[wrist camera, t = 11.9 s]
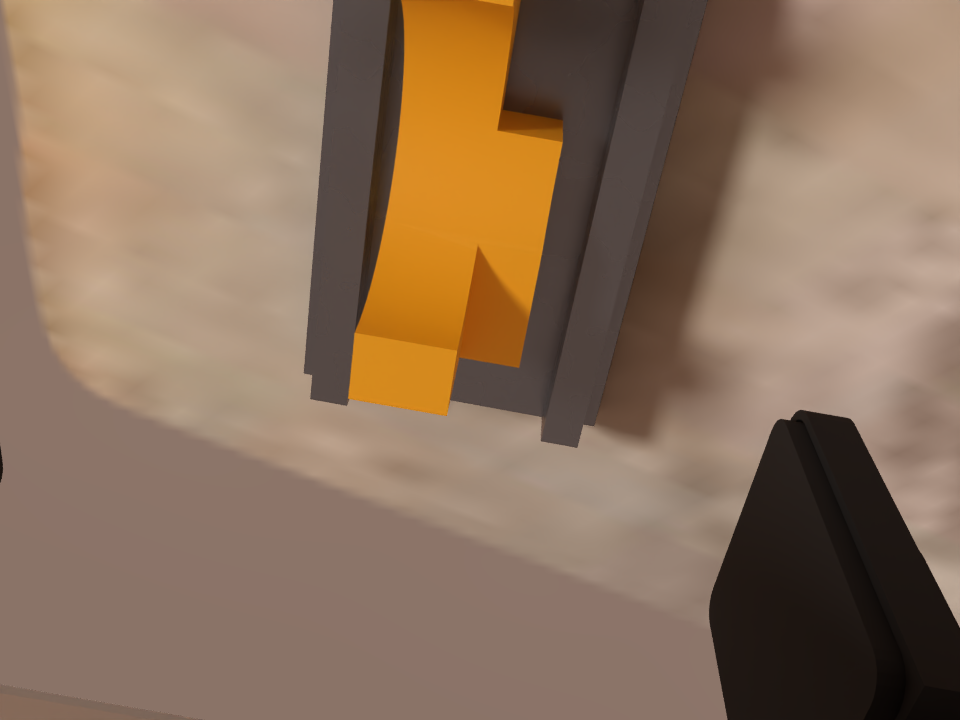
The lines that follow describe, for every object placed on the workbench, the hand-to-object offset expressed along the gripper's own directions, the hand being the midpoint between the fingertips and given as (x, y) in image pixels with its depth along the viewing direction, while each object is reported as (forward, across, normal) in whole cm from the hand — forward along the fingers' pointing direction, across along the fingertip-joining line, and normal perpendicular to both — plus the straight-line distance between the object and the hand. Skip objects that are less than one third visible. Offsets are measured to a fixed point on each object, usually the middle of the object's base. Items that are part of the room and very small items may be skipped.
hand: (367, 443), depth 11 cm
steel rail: (+18, 0, +1) cm, 18 cm away
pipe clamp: (+18, 0, +1) cm, 18 cm away
